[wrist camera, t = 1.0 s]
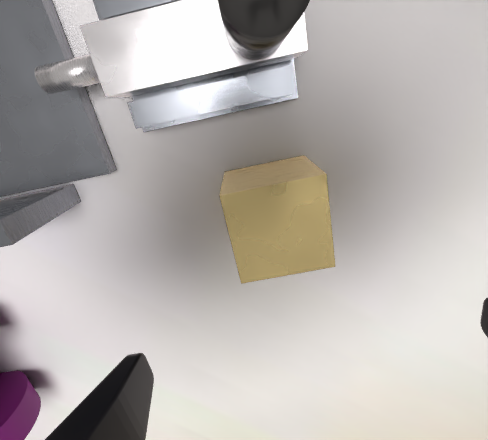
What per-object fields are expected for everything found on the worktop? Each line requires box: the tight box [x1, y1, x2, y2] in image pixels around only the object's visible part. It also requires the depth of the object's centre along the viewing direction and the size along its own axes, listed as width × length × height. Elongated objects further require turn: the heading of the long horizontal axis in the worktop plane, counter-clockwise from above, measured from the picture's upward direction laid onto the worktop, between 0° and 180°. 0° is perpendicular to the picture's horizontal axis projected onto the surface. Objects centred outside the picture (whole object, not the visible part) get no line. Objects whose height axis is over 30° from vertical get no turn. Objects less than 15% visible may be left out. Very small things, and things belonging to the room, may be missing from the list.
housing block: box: [219, 155, 335, 283], centre depth 16 cm, size 5×5×5 cm
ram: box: [34, 0, 310, 98], centre depth 11 cm, size 12×3×7 cm, turn 102°
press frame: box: [0, 0, 298, 247], centre depth 13 cm, size 24×12×6 cm, turn 102°
